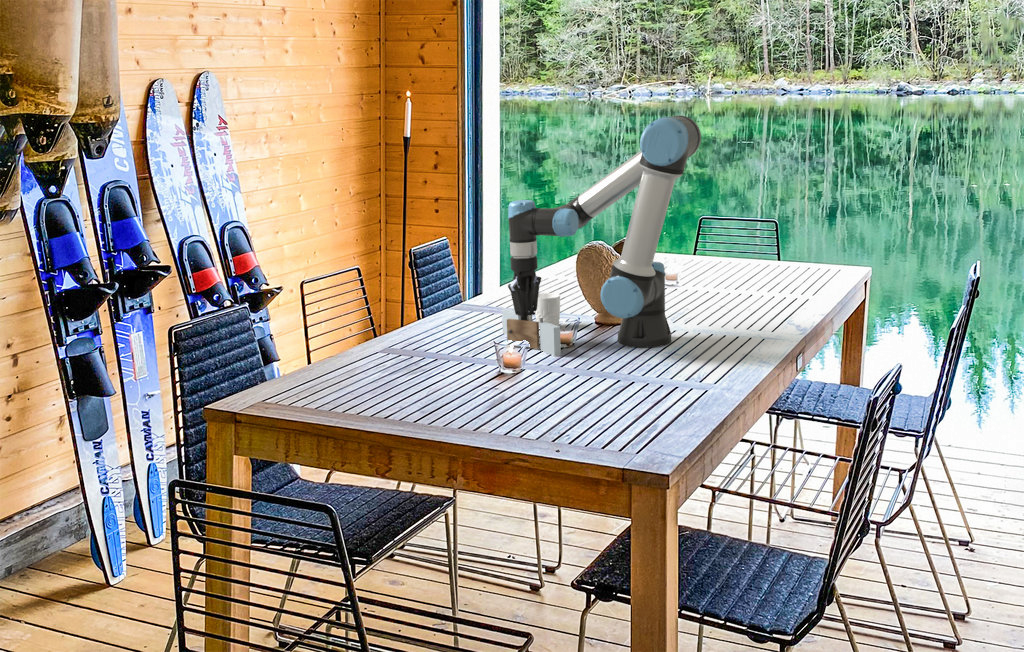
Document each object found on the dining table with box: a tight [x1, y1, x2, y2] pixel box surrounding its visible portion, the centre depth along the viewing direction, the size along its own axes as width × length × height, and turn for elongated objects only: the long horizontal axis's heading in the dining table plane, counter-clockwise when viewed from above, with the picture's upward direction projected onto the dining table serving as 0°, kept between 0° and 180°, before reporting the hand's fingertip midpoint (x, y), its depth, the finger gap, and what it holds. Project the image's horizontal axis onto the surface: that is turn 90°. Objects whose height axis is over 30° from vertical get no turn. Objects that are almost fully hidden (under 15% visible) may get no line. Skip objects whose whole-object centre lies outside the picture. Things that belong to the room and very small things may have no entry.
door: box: [506, 319, 540, 350], centre depth 312 cm, size 10×2×8 cm, turn 57°
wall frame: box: [501, 308, 562, 357], centre depth 314 cm, size 30×2×9 cm, turn 28°
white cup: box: [534, 292, 561, 328], centre depth 335 cm, size 8×8×10 cm
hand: (527, 337), depth 316 cm, fingers closed
